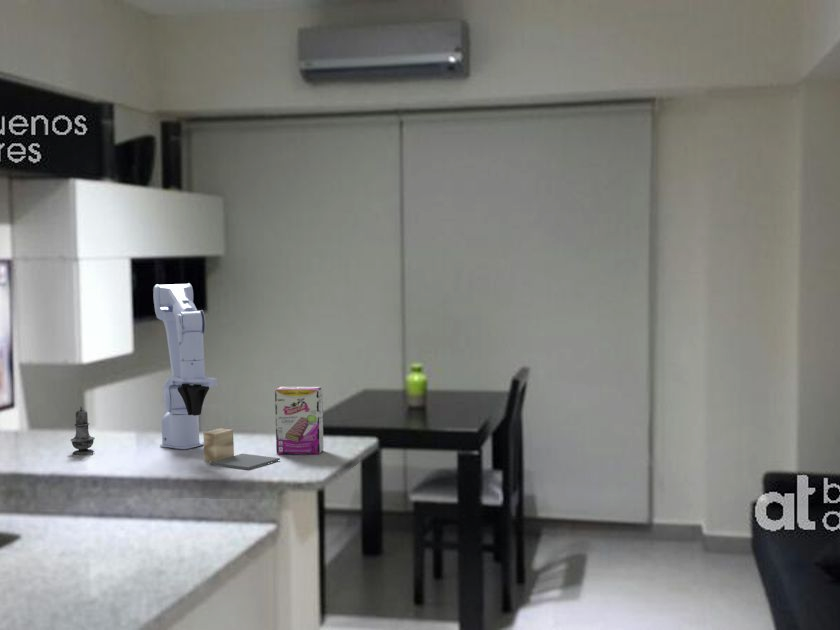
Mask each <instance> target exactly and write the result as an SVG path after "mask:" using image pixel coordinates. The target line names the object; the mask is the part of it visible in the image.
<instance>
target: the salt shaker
mask: <svg viewBox="0 0 840 630" xmlns="http://www.w3.org/2000/svg"><path fill="white" fill-rule="evenodd" d="M89 425H90V423H89V419H88V411H87V410H86V409H83V407H82V406H79V409H78V410H76V412H75V424H74V427H75V435H74V437H73V438H71V439H70V442H71V444H72V447H73V448H74V449H76V450H74V451H73V452H72V455H74V456H83V455H90V454H94V453H95V450H93V449H91V448H92V446H93V444H94V440H95V436H91V435H90V432H89Z"/></svg>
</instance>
